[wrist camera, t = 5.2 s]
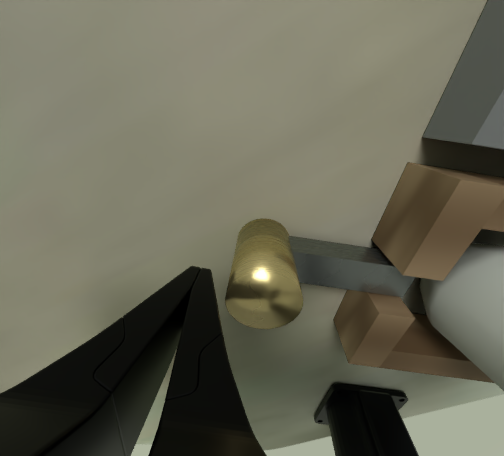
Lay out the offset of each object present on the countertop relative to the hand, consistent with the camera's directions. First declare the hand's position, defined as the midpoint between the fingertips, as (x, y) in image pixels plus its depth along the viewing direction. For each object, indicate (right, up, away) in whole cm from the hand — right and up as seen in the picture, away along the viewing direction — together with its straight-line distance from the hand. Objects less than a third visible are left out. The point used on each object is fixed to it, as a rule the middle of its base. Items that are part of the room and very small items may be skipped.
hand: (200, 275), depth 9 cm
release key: (+6, +1, +3) cm, 7 cm away
